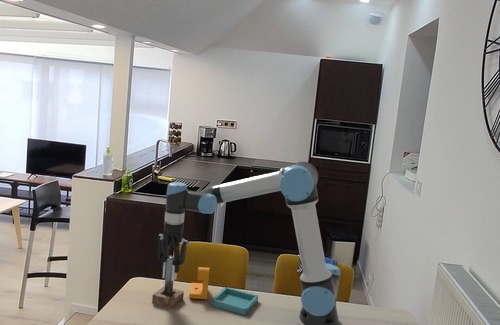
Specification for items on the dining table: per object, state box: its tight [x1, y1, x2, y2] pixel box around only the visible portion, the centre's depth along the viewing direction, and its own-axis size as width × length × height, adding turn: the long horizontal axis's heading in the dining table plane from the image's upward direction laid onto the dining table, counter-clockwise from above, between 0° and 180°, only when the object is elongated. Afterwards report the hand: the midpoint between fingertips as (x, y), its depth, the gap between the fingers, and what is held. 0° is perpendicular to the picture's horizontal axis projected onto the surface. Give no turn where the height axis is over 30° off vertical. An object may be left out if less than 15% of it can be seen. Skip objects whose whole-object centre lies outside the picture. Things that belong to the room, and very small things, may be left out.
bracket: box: [188, 266, 211, 300], centre depth 191 cm, size 11×7×12 cm, turn 4°
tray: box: [210, 286, 259, 316], centre depth 187 cm, size 15×14×2 cm
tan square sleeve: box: [151, 286, 185, 309], centre depth 183 cm, size 9×9×4 cm
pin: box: [163, 255, 175, 292], centre depth 182 cm, size 3×3×14 cm
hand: (169, 278), depth 182 cm, fingers closed on pin, 3 cm apart
